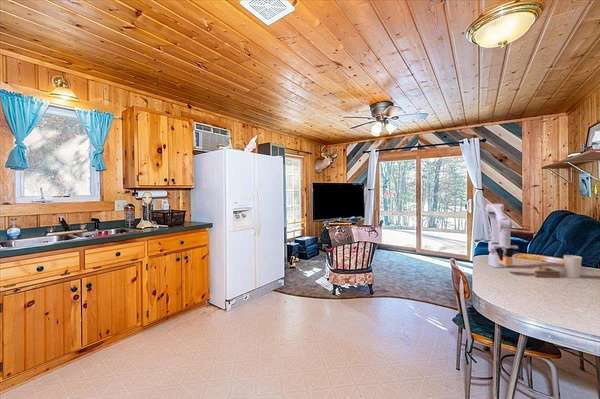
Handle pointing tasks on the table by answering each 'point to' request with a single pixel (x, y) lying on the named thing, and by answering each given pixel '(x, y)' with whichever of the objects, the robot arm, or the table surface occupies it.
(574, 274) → the cup
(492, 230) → the robot arm
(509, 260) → the block
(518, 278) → the table surface
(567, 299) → the table surface
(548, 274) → the wooden l-shaped bracket
